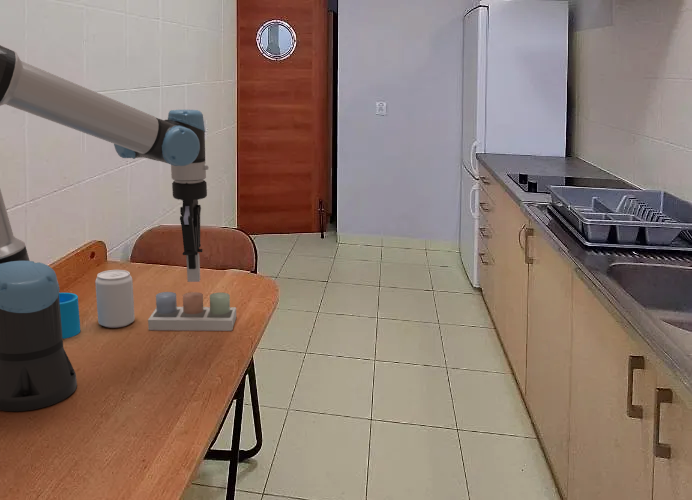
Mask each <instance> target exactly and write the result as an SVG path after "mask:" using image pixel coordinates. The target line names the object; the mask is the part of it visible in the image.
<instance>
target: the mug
mask: <svg viewBox="0 0 692 500" xmlns="http://www.w3.org/2000/svg"><path fill="white" fill-rule="evenodd" d="M59 302H60V314H61V326H62V338H63V340H64V339H69V338H72V337H75V336H77V335H78V334H80V333H81V320H80V309H79V307H80V305H79V296H78V295H77V294H76V293H74V292H73V293H72V292H59Z"/></svg>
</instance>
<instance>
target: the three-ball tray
mask: <svg viewBox="0 0 692 500" xmlns="http://www.w3.org/2000/svg"><path fill="white" fill-rule="evenodd" d="M236 319H237V307H235V306H234V307H231V306H230V311H229V312H228V313H226V314H213V313H211V312H210V306H203V312H201V313H198V314H187V313H184V312H183V306H177V311H176V312H173V313H169V314H161V313H158V312H157V309H156V308H155V309H154V310H153V312H152V313H151V315H150V316H149V317H148V320H147V324H148V325H147V327H148V328H147V329H148V331H195V332H196V331H197V332H198V331H201V332H203V331H206V332H207V331H208V332H211V331H213V332H215V331H216V332H217V331H218V332H219V331H220V332H223V331H224V332H225V331H227V332H233V328H234V326H235V323H236Z"/></svg>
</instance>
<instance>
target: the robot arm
mask: <svg viewBox="0 0 692 500" xmlns="http://www.w3.org/2000/svg"><path fill="white" fill-rule="evenodd" d="M3 105H4V106H5V105H7V106H9V107H12V108H14V109H18V110H20V111H23V112H26V113H29V114H31V115H34V116H36V117H40V118H43V119H44V120H48V121H51V122H53V123H56V124H59V125H61V126H65V127H67V128H70V129H72V130H75V131H79V132H81V133H84V134H87V135H88V136H92V137H94V138H98V139H101V140H103V141H106V142H107V143H108V142H109V143H111V144H113V146H114V149H115V152H116V153H117V155H118V156H119V157H121V158H122V159H134V160H135V159H138V158H143V159H144V158H145V159H148V160H153V161H156V162H161V163H165V164H169V165H170V172H171V180H173V182H172V183H171V187H172V188H171V189H172V197H173V198H174V199H175V200H178V201H179V200H181V201H182V206H181V207H180V208H179V210H180V216H179V221H180V226H181V234H182V245H183V251H182V255H183V256H186V257H185V258H186V259H185V260H186V279H187V282H188V283H195V282H197V283H198V282H199V283H200V281H201V267H200V265H201V264H200V263H201V261H200V260H201V259H200V253H203V248H201V245H202V244H201V211H202V206H201V204H199V201H200V200H203V199H205V198H207V196H208V189H207V188H208V187H207V181H206V180H205V179H206V178H207V170H209V166H208V165H206V136H205V135H206V134H205V133H206V128H205V127H206V126H205V120H204V114H203V113H202V112H201V111H200V110H198V109H171V110H169V111H168V116H167V119H164V120H163V119H161V118H157V117H155V116H154V115H152V114H150V113H147V112H144V111H142V110H140V109H137V108H135V107H133V106H129V105H128V104H125V103H123V102H120V101H117V100H115V99H114V98H111V97H108V96H106V95H103V94H101V93H98V92H96V91H94V90H91V89H89V88H87V87H85V86H82V85H79V84H77V83H74V81H73V82H72V81H70V80H67V79H65V78H63V77H61V76H58V75H56V74H54V73H51V72H49V71H46V70H43V69H41V68H38V67H36V66H34V65H32V64H29V63H27V62H24V61H22V60H21V59H20V56H19V55H18V53H17V52H16V51H15V50H12V49H10V48H7V47H5V46H3V45H0V107H1V106H3ZM28 254H29V253H28V250H27V247H26V243H25V241H22V240H21V239H19V238H17V237H16V236H14V232H13V228H12V226H11V221H10V218H9V214H8V212H7V208H6V205H5V200H4V197H3V194H2V190H1V189H0V411H3V412H25V411H27V412H28V411H35V410H37V409H38V410H39V409H43V408H46V407H51V406H53V405H55V404H58V403H60V402H62V401H64V400H66V399H68V397H70V396H72V394H73V393H75V391H76V390H77V386H78V383H77V374H76V371H75V369H74V367H73V365H72V362H71V361H70V359H69V356H68V354H67V353H66V352H67V351H66V350H65V348H64V339H63V338H62V326H61V314H60V302H59V293H60V285H59V284H60V283H59V281H58V277H57V274H56V272H55V270H54V269H53V268H52V267H50V266H49V265H48V264H46V263H43V262H35V261H32V260H30V258H29V255H28Z"/></svg>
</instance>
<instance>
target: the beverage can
mask: <svg viewBox="0 0 692 500" xmlns="http://www.w3.org/2000/svg"><path fill="white" fill-rule="evenodd" d="M96 275H97V276H96V279H95V283H94V284H95V294H96V296H95V298H96V309H97V312H96V313H97V321H98V324H99V325H100V326H103V327H105V328H111V329H114V328H122V327H123V328H124V327H126V326H128V325H130V324H131V323H133V322H134V321H135V300H134V299H135V298H134V284H133V277H132V276H131V273H130V271H128V270H124V269H111V270H110V269H109V270H103V271H101V272H98V273H97V274H96Z"/></svg>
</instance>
